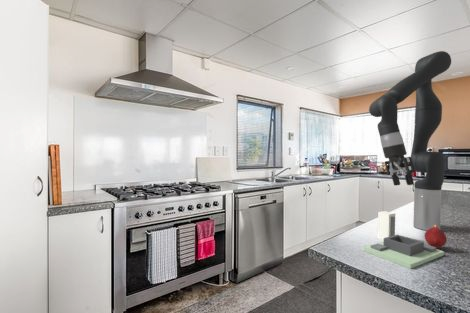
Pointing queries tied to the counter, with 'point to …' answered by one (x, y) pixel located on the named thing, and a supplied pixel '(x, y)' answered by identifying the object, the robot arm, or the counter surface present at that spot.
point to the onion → (435, 237)
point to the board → (404, 251)
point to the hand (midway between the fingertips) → (403, 185)
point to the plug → (386, 224)
